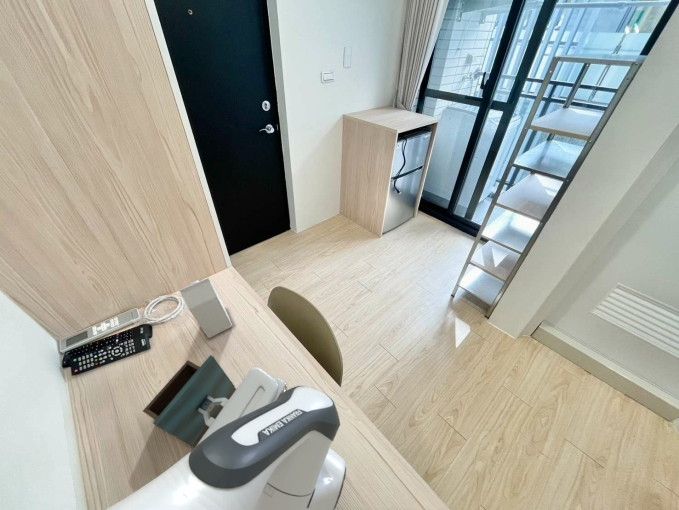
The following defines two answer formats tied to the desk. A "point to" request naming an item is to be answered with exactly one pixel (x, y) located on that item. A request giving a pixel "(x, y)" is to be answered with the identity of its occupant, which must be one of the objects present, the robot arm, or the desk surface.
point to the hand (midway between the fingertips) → (203, 403)
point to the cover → (195, 402)
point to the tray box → (172, 390)
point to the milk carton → (206, 307)
